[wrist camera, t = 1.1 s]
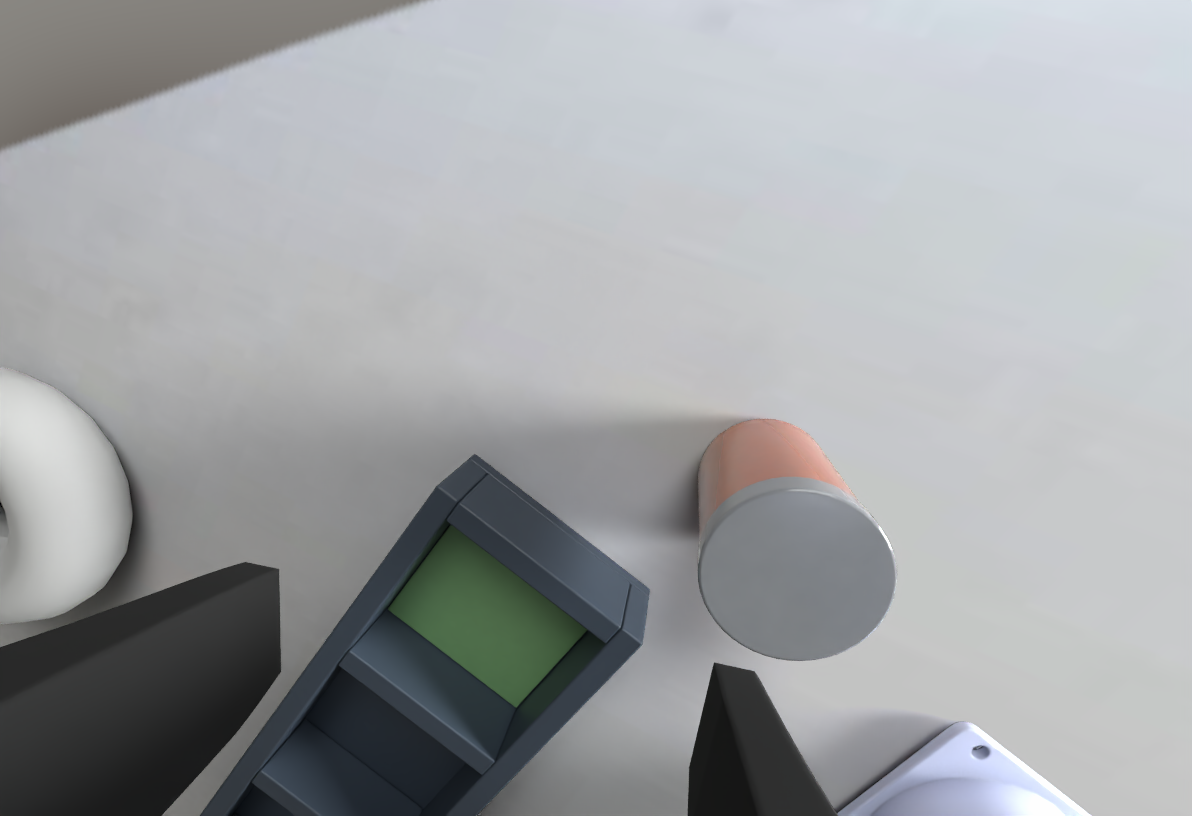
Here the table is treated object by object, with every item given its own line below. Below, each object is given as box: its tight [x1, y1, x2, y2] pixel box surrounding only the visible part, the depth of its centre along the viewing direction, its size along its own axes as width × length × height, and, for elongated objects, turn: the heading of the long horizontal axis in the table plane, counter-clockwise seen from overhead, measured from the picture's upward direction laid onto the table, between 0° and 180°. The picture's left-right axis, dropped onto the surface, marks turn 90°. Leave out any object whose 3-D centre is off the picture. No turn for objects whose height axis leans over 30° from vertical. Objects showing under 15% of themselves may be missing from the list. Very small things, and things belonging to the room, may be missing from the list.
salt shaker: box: [698, 419, 897, 661], centre depth 15 cm, size 4×4×6 cm
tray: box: [200, 454, 650, 816], centre depth 21 cm, size 8×21×3 cm, turn 143°
